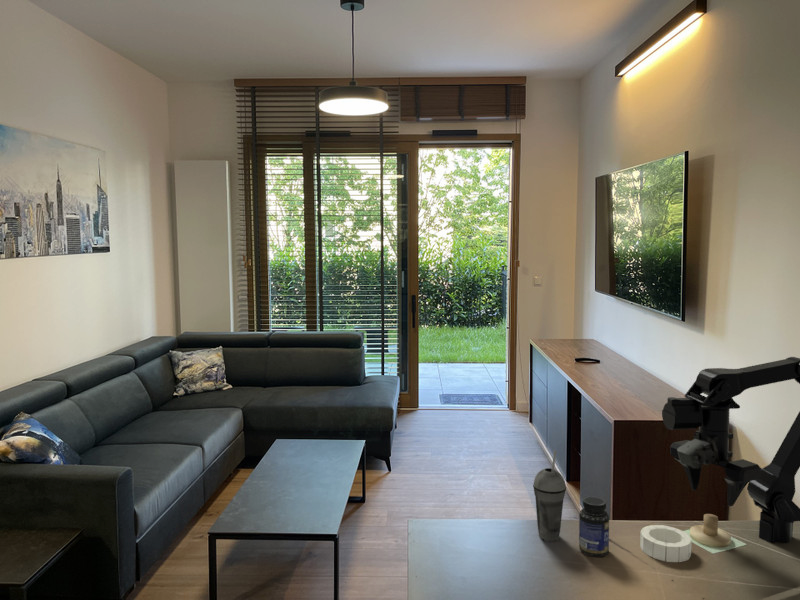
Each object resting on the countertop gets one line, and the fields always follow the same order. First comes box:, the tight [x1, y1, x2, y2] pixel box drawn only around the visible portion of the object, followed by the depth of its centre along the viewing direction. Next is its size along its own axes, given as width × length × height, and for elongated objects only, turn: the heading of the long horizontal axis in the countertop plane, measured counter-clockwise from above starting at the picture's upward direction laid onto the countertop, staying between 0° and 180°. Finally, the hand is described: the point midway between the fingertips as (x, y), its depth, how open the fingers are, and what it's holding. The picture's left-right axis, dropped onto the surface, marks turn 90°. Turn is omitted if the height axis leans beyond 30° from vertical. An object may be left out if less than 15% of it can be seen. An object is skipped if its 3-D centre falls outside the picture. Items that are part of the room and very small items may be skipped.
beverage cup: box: [532, 449, 567, 542], centre depth 133 cm, size 7×7×20 cm
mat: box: [682, 528, 748, 554], centre depth 131 cm, size 10×10×1 cm
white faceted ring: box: [639, 524, 693, 563], centre depth 126 cm, size 10×10×4 cm
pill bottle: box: [578, 496, 610, 558], centre depth 127 cm, size 6×6×11 cm
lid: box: [689, 513, 732, 548], centre depth 130 cm, size 8×8×5 cm
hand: (712, 497), depth 130 cm, fingers open, 9 cm apart
